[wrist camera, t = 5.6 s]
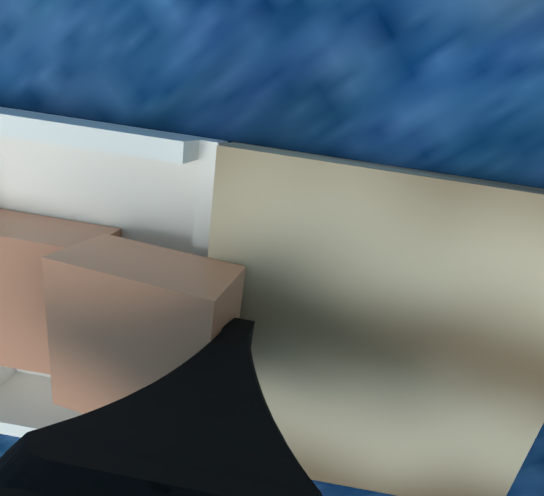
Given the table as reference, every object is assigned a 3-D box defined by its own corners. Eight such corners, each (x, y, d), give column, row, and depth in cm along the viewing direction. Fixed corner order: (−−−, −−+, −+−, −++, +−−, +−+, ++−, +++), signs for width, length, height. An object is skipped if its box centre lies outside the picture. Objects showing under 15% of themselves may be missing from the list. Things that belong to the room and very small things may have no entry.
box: (202, 408, 16) (181, 467, 13) (12, 374, 17) (-48, 424, 14) (228, 140, 12) (205, 144, 10) (-23, 103, 13) (-116, 96, 10)
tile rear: (121, 341, 15) (86, 381, 12) (7, 321, 15) (-48, 356, 13) (121, 228, 13) (82, 249, 11) (-7, 207, 13) (-73, 224, 11)
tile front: (229, 394, 13) (199, 453, 10) (106, 357, 13) (52, 403, 11) (246, 266, 11) (214, 301, 9) (104, 233, 12) (41, 256, 9)
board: (468, 456, 16) (496, 513, 14) (207, 409, 16) (190, 456, 14) (583, 194, 12) (651, 210, 10) (233, 141, 12) (216, 145, 10)
